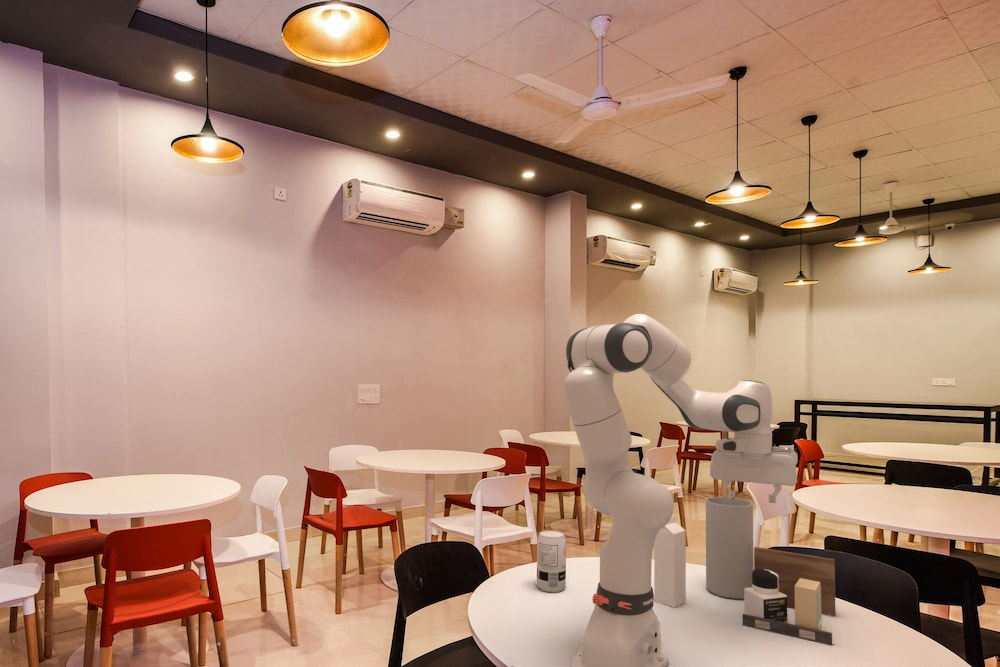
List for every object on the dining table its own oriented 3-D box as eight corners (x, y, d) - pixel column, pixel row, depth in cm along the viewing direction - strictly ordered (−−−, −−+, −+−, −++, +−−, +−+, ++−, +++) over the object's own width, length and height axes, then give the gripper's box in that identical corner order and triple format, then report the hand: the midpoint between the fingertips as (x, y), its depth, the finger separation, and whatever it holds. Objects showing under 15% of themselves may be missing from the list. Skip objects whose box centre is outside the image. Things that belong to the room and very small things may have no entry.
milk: (685, 602, 157) (686, 518, 159) (673, 608, 153) (674, 521, 155) (665, 595, 162) (666, 514, 163) (653, 601, 158) (654, 517, 159)
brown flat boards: (832, 645, 133) (830, 582, 134) (742, 625, 143) (741, 566, 144) (835, 615, 150) (834, 559, 151) (755, 599, 160) (754, 546, 161)
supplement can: (531, 585, 168) (532, 531, 169) (556, 581, 171) (557, 528, 172) (545, 595, 161) (546, 538, 162) (571, 590, 164) (571, 535, 165)
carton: (822, 629, 142) (821, 582, 143) (817, 639, 136) (816, 590, 137) (800, 623, 145) (799, 578, 145) (795, 633, 139) (794, 585, 140)
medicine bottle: (764, 628, 142) (763, 577, 142) (743, 616, 148) (743, 567, 149) (788, 625, 144) (787, 575, 145) (767, 613, 151) (766, 565, 151)
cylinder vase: (757, 602, 158) (756, 507, 160) (708, 597, 161) (707, 504, 163) (750, 586, 170) (749, 498, 172) (704, 581, 173) (704, 495, 175)
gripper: (794, 447, 149) (794, 502, 148) (709, 440, 155) (708, 494, 154) (800, 449, 143) (800, 507, 142) (711, 443, 149) (710, 498, 148)
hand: (751, 500), depth 148 cm, fingers open, 8 cm apart
